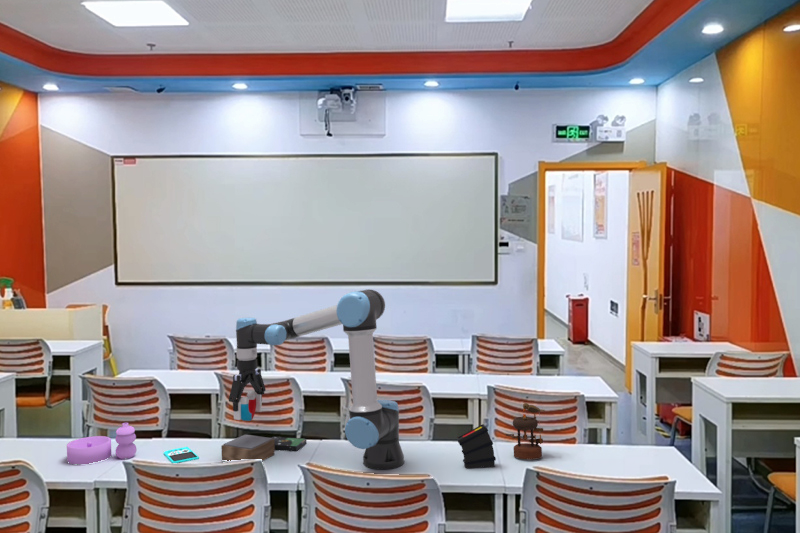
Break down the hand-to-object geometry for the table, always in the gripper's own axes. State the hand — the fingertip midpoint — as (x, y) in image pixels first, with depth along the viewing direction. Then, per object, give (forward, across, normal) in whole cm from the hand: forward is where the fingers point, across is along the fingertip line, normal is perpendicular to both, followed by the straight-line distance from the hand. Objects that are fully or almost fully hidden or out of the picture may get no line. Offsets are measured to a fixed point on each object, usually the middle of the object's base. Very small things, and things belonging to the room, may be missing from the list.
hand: (248, 415), depth 240 cm
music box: (+16, +41, -97) cm, 106 cm away
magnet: (+2, 0, 0) cm, 2 cm away
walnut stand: (+16, 0, 0) cm, 16 cm away
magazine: (+16, +24, -83) cm, 88 cm away
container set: (+17, -21, +53) cm, 60 cm away
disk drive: (+17, +17, -5) cm, 25 cm away
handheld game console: (+17, -8, +26) cm, 32 cm away
